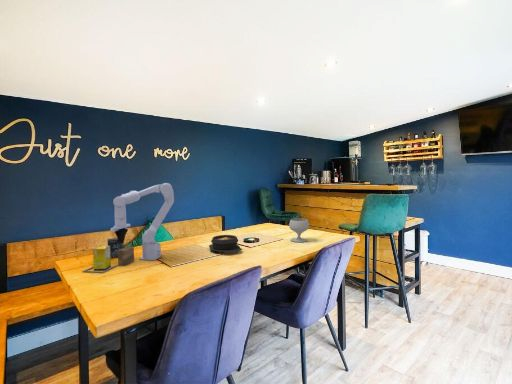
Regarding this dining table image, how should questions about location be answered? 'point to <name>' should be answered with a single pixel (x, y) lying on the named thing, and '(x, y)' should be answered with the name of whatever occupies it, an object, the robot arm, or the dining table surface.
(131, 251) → the shelf blocks
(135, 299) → the dining table surface
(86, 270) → the stand outline
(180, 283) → the dining table surface
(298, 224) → the chalice
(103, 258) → the supplement box
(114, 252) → the box
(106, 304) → the dining table surface
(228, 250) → the black round squat piece
